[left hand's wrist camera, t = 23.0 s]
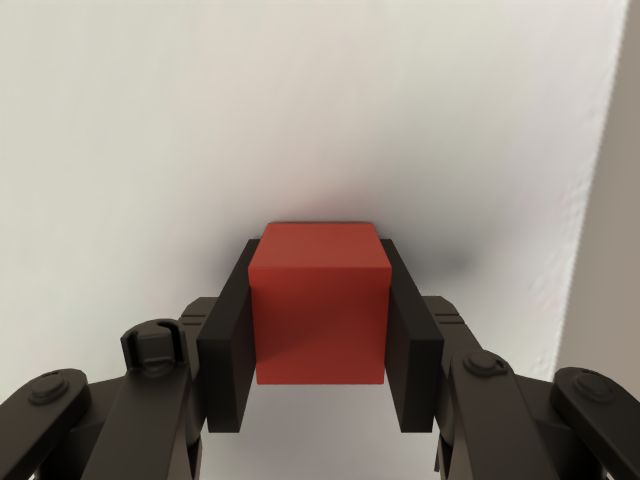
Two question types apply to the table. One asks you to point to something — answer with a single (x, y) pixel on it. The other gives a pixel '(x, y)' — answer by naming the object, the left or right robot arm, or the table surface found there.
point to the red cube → (320, 304)
